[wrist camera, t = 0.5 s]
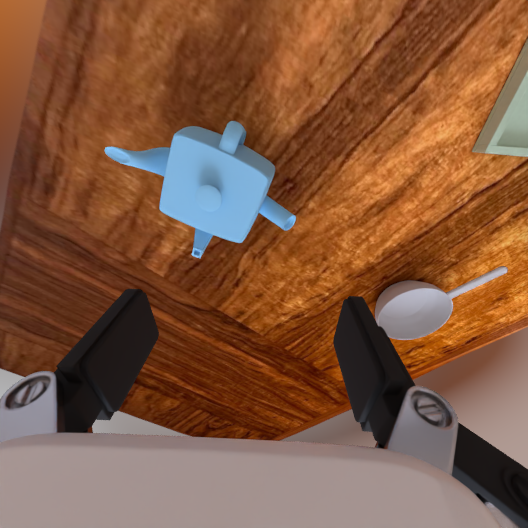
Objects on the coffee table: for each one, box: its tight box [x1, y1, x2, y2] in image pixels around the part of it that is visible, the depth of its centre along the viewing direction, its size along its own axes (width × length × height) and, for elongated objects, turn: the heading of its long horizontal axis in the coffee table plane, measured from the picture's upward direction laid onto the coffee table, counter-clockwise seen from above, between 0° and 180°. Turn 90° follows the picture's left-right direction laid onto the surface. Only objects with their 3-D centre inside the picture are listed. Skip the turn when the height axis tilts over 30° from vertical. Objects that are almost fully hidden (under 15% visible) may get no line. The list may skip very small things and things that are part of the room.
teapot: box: [105, 121, 296, 258], centre depth 24 cm, size 18×14×10 cm
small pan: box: [375, 266, 508, 340], centre depth 34 cm, size 11×18×4 cm, turn 135°
